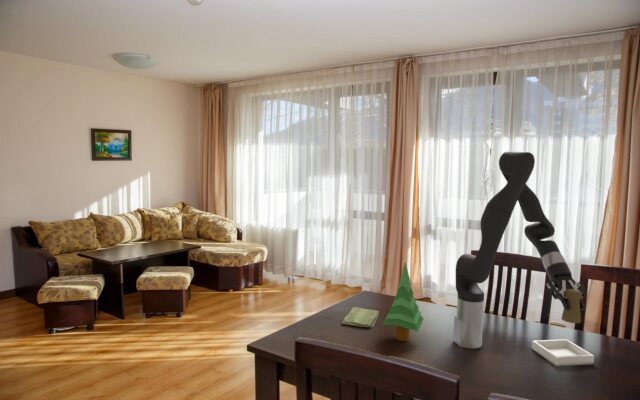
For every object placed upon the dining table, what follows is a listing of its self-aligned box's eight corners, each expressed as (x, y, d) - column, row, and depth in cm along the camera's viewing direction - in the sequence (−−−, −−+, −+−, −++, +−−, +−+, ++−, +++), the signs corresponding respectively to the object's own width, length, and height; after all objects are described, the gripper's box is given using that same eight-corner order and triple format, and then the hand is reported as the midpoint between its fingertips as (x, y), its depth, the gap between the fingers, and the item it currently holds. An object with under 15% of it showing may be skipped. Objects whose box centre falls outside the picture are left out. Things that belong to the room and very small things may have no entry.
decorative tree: (378, 342, 164) (380, 262, 161) (392, 328, 178) (394, 254, 175) (414, 350, 158) (417, 267, 155) (425, 335, 171) (428, 259, 169)
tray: (556, 366, 147) (556, 357, 147) (531, 348, 160) (532, 340, 160) (593, 364, 149) (594, 355, 148) (566, 347, 162) (566, 339, 162)
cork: (583, 324, 153) (586, 293, 152) (564, 322, 154) (567, 291, 153) (577, 318, 158) (579, 288, 158) (559, 316, 160) (561, 286, 159)
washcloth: (340, 326, 180) (340, 318, 180) (352, 312, 197) (352, 305, 196) (372, 330, 176) (372, 323, 176) (381, 316, 192) (381, 309, 192)
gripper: (543, 261, 161) (562, 304, 150) (579, 261, 163) (601, 304, 152) (533, 271, 167) (551, 314, 156) (568, 272, 168) (588, 313, 158)
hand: (575, 309), depth 154 cm, fingers closed on cork, 4 cm apart
